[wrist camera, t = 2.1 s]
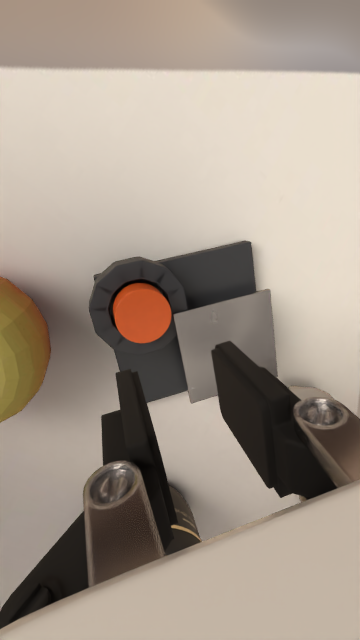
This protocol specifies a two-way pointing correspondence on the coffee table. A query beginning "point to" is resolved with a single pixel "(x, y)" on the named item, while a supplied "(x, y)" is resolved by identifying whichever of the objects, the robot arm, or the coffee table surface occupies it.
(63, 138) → the coffee table surface
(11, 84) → the coffee table surface
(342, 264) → the coffee table surface
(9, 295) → the apple
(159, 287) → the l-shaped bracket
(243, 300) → the plate
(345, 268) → the coffee table surface
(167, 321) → the button
